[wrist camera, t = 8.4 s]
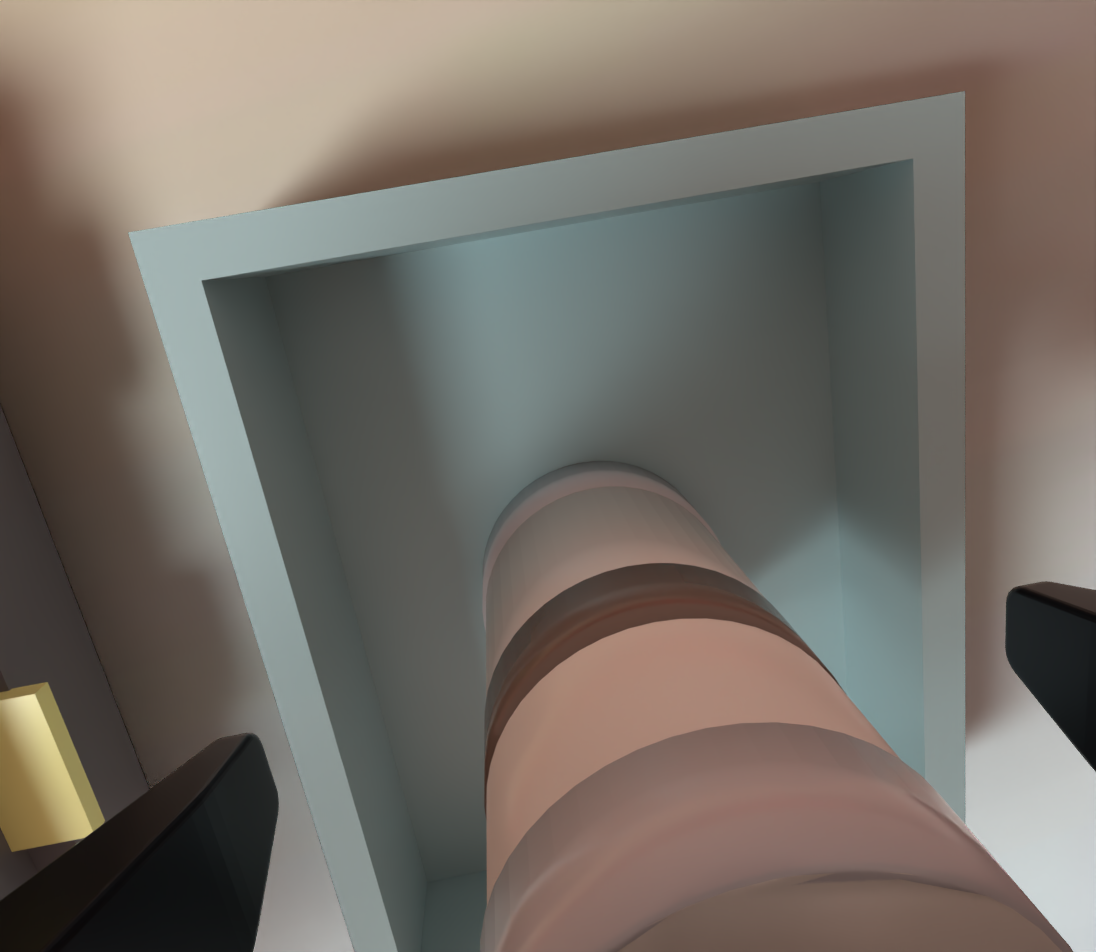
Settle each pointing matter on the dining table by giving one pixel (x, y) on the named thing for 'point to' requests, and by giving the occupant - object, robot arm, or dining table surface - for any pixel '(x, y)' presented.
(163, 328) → the tray
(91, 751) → the block
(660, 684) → the fuse
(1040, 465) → the dining table surface
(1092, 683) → the robot arm
